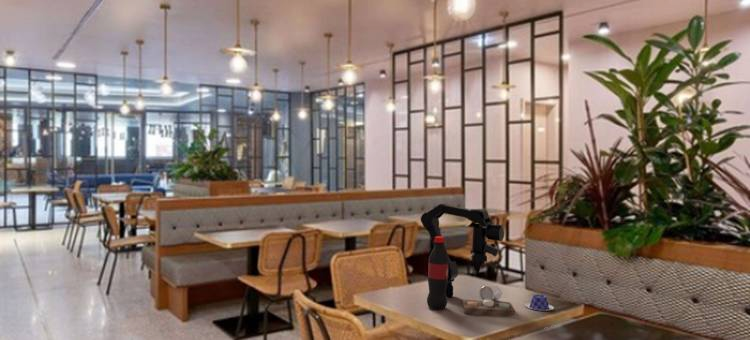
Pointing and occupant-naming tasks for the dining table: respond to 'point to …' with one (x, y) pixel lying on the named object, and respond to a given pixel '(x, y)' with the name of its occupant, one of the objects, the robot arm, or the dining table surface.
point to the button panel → (488, 309)
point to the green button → (504, 305)
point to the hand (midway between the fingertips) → (477, 273)
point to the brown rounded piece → (472, 303)
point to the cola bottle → (438, 276)
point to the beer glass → (490, 292)
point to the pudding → (539, 303)
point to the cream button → (488, 303)
